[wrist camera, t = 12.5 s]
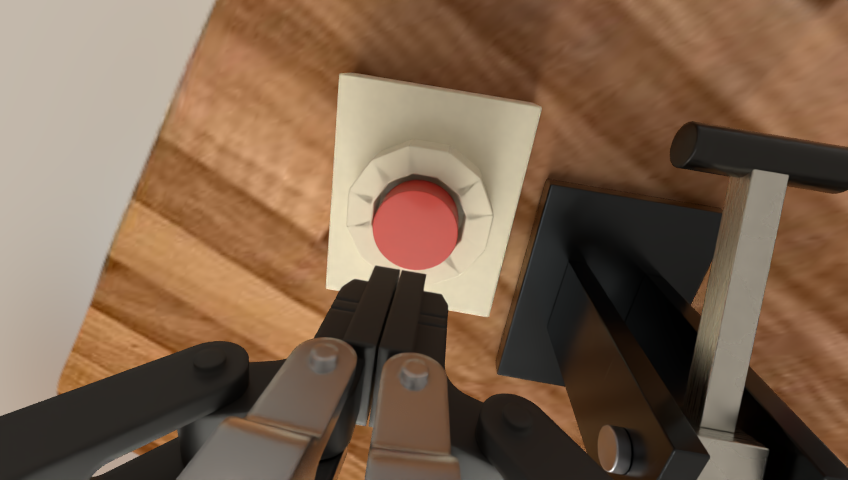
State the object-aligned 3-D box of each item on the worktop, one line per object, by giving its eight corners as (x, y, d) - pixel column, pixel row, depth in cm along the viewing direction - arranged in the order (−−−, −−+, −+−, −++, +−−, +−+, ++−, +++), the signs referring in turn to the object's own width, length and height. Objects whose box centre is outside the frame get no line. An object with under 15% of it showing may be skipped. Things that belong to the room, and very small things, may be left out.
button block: (351, 72, 20) (326, 73, 16) (534, 102, 20) (551, 110, 16) (336, 270, 24) (314, 307, 21) (486, 296, 24) (491, 338, 20)
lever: (665, 130, 14) (713, 111, 12) (811, 154, 14) (890, 140, 12) (598, 469, 15) (630, 517, 12) (739, 494, 14) (799, 549, 12)
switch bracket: (545, 178, 21) (652, 317, 9) (720, 207, 21) (1052, 386, 9) (495, 361, 26) (523, 607, 14) (637, 387, 26) (785, 657, 14)
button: (384, 172, 18) (377, 183, 16) (465, 186, 18) (465, 198, 16) (376, 246, 19) (368, 262, 18) (451, 259, 19) (450, 277, 18)
